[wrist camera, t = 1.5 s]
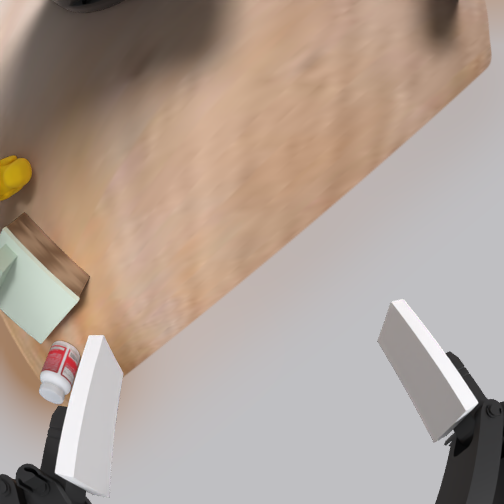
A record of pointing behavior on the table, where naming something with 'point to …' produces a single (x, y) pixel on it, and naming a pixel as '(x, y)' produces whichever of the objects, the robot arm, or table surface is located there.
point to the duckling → (13, 175)
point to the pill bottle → (59, 371)
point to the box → (49, 253)
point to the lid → (30, 290)
